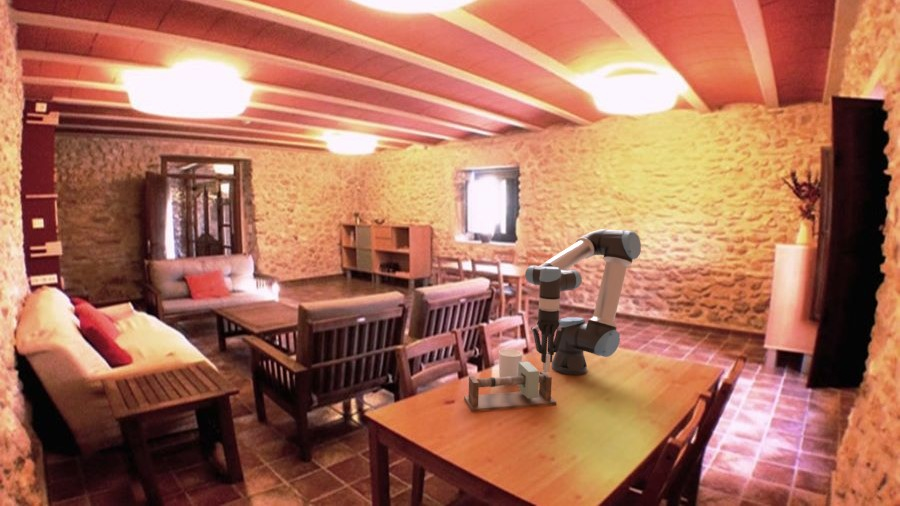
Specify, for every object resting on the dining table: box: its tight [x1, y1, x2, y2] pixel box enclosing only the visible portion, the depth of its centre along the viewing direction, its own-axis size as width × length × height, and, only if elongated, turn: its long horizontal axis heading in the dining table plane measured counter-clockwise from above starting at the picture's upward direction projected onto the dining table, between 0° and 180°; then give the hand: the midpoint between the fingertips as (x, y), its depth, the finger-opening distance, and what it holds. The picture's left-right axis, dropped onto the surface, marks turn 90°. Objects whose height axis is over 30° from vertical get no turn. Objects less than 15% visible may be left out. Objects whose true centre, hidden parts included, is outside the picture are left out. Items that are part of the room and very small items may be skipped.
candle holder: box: [498, 348, 524, 377], centre depth 185 cm, size 10×10×12 cm
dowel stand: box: [463, 370, 557, 413], centre depth 165 cm, size 32×11×10 cm, turn 103°
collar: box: [517, 361, 540, 398], centre depth 166 cm, size 4×10×10 cm, turn 13°
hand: (546, 370), depth 167 cm, fingers closed
